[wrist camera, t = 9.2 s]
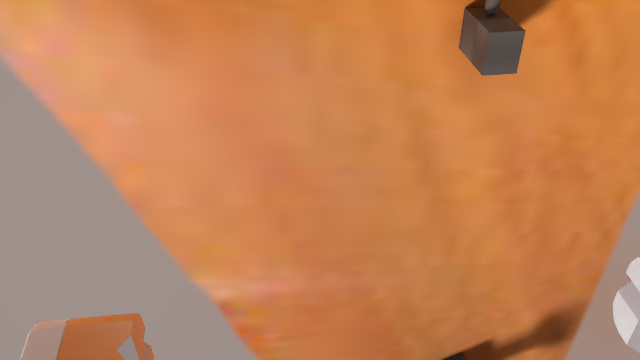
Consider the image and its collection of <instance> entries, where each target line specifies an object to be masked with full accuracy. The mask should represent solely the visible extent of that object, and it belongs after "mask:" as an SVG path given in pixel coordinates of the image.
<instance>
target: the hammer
mask: <svg viewBox="0 0 640 360" xmlns="http://www.w3.org/2000/svg"><path fill="white" fill-rule="evenodd" d="M499 6H500V0H486V2H485V7H471V8H465V10H464V17H463V24H462V31H461V38H460V45H459V48H460V49H461V51H462V52H463V53H464V54H465V55H466V57H467V58H468V59H469V60H470V61H471V63H472V64H473V65H474V66H475V67H476V68H477V70H478V71H479V72H480V73H481V74H482V76H483V75H499V74H515V73H517V68H518V63H519V59H520V54H521V49H522V45H523V40H524V35H525V30H524V29H523V28H522V27H520V26H519V25H518V24H517V23H516V22H515V21H514V20H512V19H511V18H510V17H509V16H508V15H507V14H506V13H504V12H503V11H502V10H501V9H500V8H499Z"/></svg>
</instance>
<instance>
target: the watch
mask: <svg viewBox="0 0 640 360" xmlns="http://www.w3.org/2000/svg"><path fill="white" fill-rule="evenodd" d="M445 360H466V359H465V358H464V356H463V354H462V353H460V354H457V355H455V356H452V357H450V358H447V359H445Z"/></svg>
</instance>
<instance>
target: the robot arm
mask: <svg viewBox="0 0 640 360" xmlns="http://www.w3.org/2000/svg"><path fill="white" fill-rule="evenodd" d="M626 274H627V276H628V278H629V280H630V281H629V282H628V283H627V284H626V285H625V286H623V287H622V288H621V289H620V290H618V292H617V294H616V297H615V300H614V302H613V316H614V322H615V324H616V327H617V329H618V332H619V334H620V335H621V337H622V338H623V340H624V341H625V343H626V344H627V345H628V346H629V347H631V348H633V349H634V350H636V351H638V352H639V353H640V257H637V258H636V259H635V260H633V261H632V262H631V263H630V265H629V267H628V269H627V271H626ZM144 331H145V327H144V324H143V321H142V318H141V315H140V314H124V315H113V316H102V317H91V318H90V317H89V318H79V319H70V320H60V321H49V322H39V323H36V324H35V325H34V327H33V328H32V329H31V330H30V332H29V334H28V337H27V340H26V343H25V346H24V349H23V352H22V355H21V358H20V360H154V357H153V353H152V349H151V346H150V345H148V344H147V343H145V342H144V341H143V339H144Z"/></svg>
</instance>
